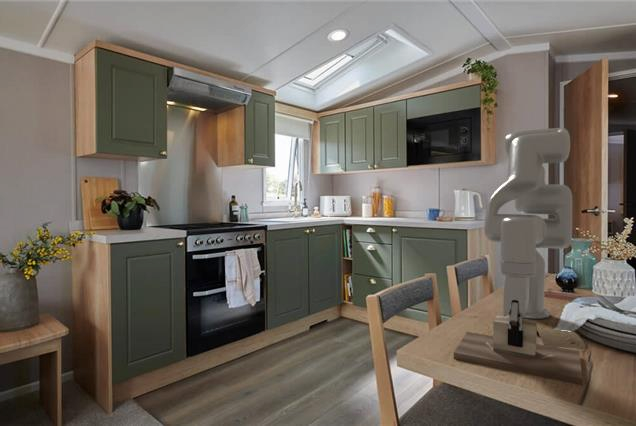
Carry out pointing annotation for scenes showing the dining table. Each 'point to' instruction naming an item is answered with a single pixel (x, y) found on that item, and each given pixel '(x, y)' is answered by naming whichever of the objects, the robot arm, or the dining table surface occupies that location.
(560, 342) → the clay tablet
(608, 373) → the dining table surface
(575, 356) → the walnut board
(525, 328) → the cream carton
